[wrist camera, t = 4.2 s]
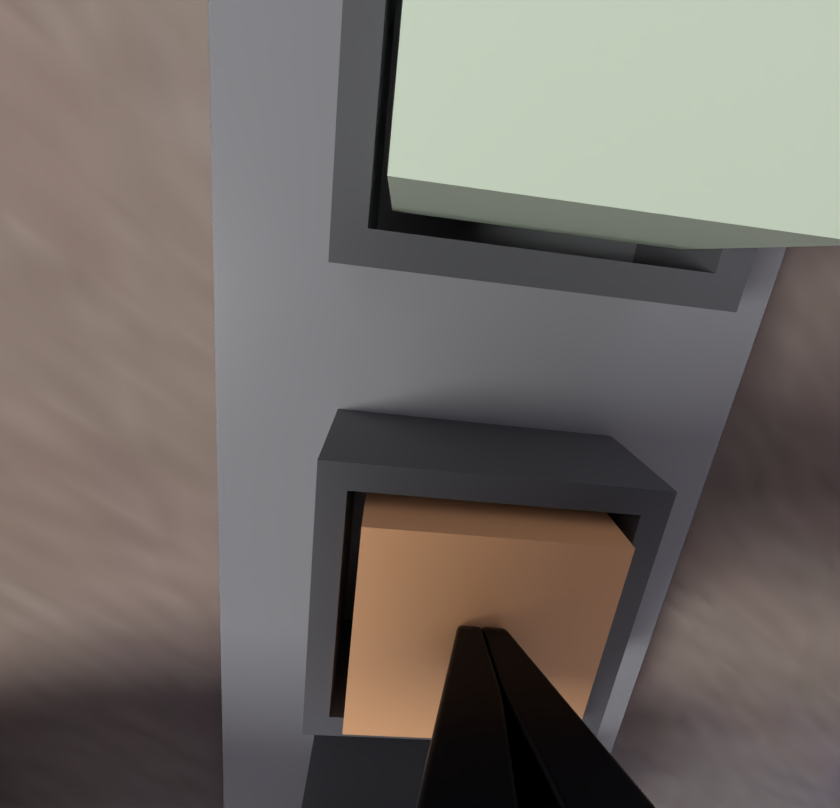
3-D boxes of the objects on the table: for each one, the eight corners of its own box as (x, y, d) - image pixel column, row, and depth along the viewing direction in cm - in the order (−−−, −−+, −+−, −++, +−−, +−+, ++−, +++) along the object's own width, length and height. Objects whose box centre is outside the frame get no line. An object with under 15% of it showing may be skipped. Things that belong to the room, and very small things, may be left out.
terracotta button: (530, 622, 11) (574, 744, 9) (356, 611, 11) (342, 734, 8) (569, 466, 10) (635, 547, 7) (372, 447, 10) (361, 527, 7)
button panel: (549, 832, 16) (595, 1005, 13) (241, 824, 16) (190, 1006, 12) (833, -70, 9) (1179, -330, 5) (239, -187, 8) (83, -616, 4)
